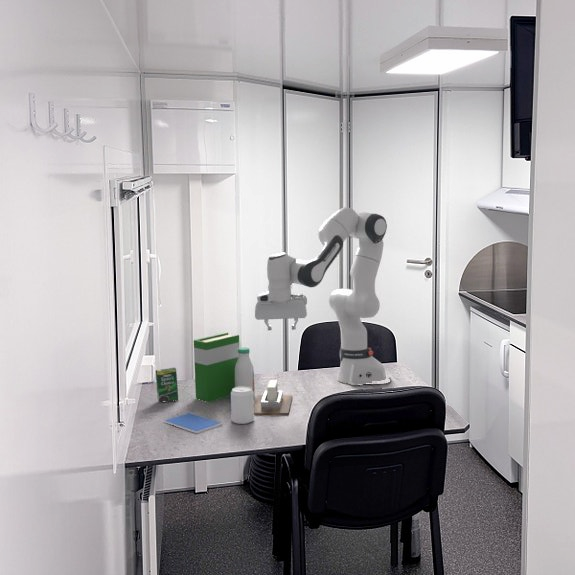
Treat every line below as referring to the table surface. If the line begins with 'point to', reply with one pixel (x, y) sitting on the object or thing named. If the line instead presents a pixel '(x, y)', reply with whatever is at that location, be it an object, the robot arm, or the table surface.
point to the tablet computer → (193, 423)
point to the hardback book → (215, 366)
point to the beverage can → (242, 405)
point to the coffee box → (167, 384)
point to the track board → (283, 410)
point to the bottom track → (271, 402)
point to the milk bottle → (244, 369)
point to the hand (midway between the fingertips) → (281, 329)
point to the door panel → (272, 390)
